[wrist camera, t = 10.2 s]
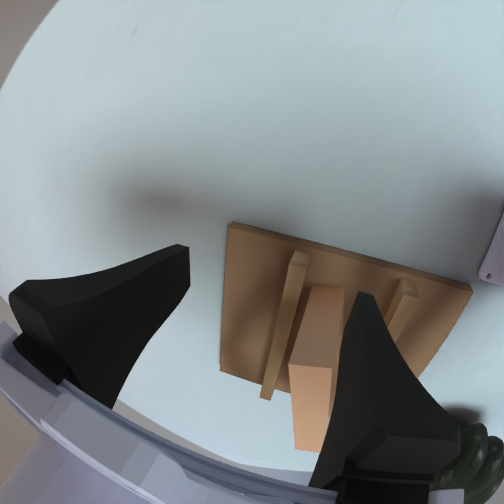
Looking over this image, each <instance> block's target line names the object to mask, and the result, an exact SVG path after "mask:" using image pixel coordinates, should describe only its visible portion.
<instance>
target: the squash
mask: <svg viewBox="0 0 504 504" xmlns="http://www.w3.org/2000/svg"><path fill="white" fill-rule="evenodd" d="M456 421H457V422H458V423H459V428H460V438H461V452H460V453H459V455H458V456H457V457H456V458H455V459H454V460H453V461H452V462H451V463H449V464H448V465H446V466H445V467H443V468H442V469H440V470H439V471H437V472H435V481H434V483H433V484H430V487H429V492H432V491H436V490H451V489H463V490H464V502H463V504H484V503H485V502H486V501H487V500H488V499H490V498H491V496H492V495H493V494H494V493H495V491H496V490H497V489H498V487H499V486H500V484H501V483H502V481H503V479H504V443H503V441H502V440H501V439H499V438H498V437H496V436H489V437H488V433H487V429H486V427H485V426H484V425H483V424H482V423H477V424H474V425H471V426H469V425H468V423H467V422H465V421H463V420H456Z"/></svg>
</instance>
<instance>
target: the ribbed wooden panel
mask: <svg viewBox="0 0 504 504" xmlns="http://www.w3.org/2000/svg"><path fill="white" fill-rule="evenodd" d="M312 286H328V287H345V294H344V317H343V332H344V328H345V325H346V323H347V320H348V317H349V315H350V312H351V310H352V307H353V304H354V302H355V299H356V296H357V293H358V291H361V292H365V293H369V294H373V296H374V298H375V300H376V302H377V305H378V307H379V310H380V312H381V314H382V317H383V319H384V321H385V324H386V326H387V328H388V330H389V332H390V334H391V336H392V338H393V340H394V342H395V344H396V346H397V348H398V350H399V352H400V353H401V355H402V357H403V358H404V360H405V361H406V363H407V365H408V366H409V368H410V369H411V371H412V372H413V373H414V375H415V376H416V378H418V377H419V376H420V375H421V373H422V372H423V371H424V369H425V368H426V367H427V365H428V364H429V362H430V361H431V360H432V358H433V357H434V355H435V354H436V353H437V351H438V350H439V348H440V347H441V345H442V344H443V342H444V341H445V339H446V338H447V336H448V335H449V333H450V331H451V330H452V328H453V327H454V325H455V323H456V322H457V320H458V319H459V317H460V315H461V313H462V312H463V310H464V308H465V307H466V305H467V303H468V301H469V299H470V298H471V296H472V294H473V291H472V288H471V286H470V285H467V284H464V283H461V282H457V281H454V280H450V279H447V278H444V277H440V276H437V275H433V274H430V273H426V272H423V271H419V270H416V269H412V268H409V267H405V266H402V265H398V264H394V263H391V262H387V261H383V260H380V259H376V258H372V257H369V256H365V255H361V254H358V253H354V252H350V251H346V250H343V249H339V248H335V247H331V246H327V245H324V244H320V243H316V242H312V241H308V240H304V239H300V238H296V237H292V236H288V235H284V234H280V233H276V232H272V231H268V230H264V229H260V228H256V227H252V226H248V225H244V224H240V223H235V222H232V223H231V224H230V225H229V226H228V232H227V247H226V262H225V278H224V296H223V314H222V334H221V356H220V371H222V372H225V373H228V374H231V375H233V376H236V377H239V378H242V379H245V380H248V381H251V382H254V383H257V384H260V385H262V389H261V393H260V398H263V399H266V400H271V397H272V394H273V392H274V389H277V390H280V391H284V392H287V393H291V389H290V378H289V367H288V363H289V360H290V357H291V354H292V351H293V348H294V345H295V342H296V339H297V335H298V332H299V329H300V326H301V323H302V319H303V316H304V313H305V310H306V306H307V303H308V299H309V296H310V293H311V289H312ZM342 337H343V334H342Z"/></svg>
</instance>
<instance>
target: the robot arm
mask: <svg viewBox="0 0 504 504" xmlns="http://www.w3.org/2000/svg"><path fill="white" fill-rule="evenodd" d="M488 274H490V275H489V276H488V277H486V276H487V275H488ZM478 276H479V278H480V279H481V280H483V281H486V282H490V283H493V284H496V285H499V286H502V287H504V212H503V215H502V217H501V220H500V223H499V225H498V228H497V230H496V233H495V235H494V238H493V240H492V243H491V245H490V247H489V250H488V252H487V254H486V257H485V259H484V261H483V263H482V265H481V267H480V269H479V272H478ZM189 287H190V257H189V247H187V246H183V245H179V244H175V245H172V246H169V247H166V248H164V249H161V250H158V251H156V252H153V253H151V254H148V255H146V256H143V257H141V258H138V259H136V260H133V261H130V262H127V263H124V264H122V265H119V266H116V267H113V268H110V269H106V270H102V271H99V272H95V273H90V274H85V275H80V276H75V277H68V278H60V279H46V280H26V281H25V282H23V283H22V284H21V285H19V286H18V287H17V288H16V289H14V290H13V291H12V292H11V293H10V294H9V303H10V307H11V309H12V311H13V313H14V315H15V318H16V320H17V322H18V324H19V326H20V328H21V330H22V332H23V333H22V334H20V335H19V336H18V334H17V333H16V332H15V331H14V330H13V329H12V328H11V327H10V326H9V325H8V324H7V323H6V322H5V321H2V322H1V323H0V393H1V394H2V395H3V396H4V398H5V399H6V400H7V401H8V402H9V403H10V404H11V405H12V406H13V407H14V408H15V410H16V411H17V412H18V413H19V414H20V415H21V416H22V417H23V418H24V419H25V420H26V421H27V422H28V423H29V424H30V425H31V426H32V427H33V428H35V429H36V430H37V431H38V432H39V433H40V434H41V436H40V437H39V438H38V440H37V441H36V442H35V443H34V445H33V446H32V447H31V449H30V450H29V451H28V452H27V453H26V455H25V456H24V457H23V459H22V460H21V461H20V463H19V464H18V465H17V466H16V468H15V469H14V470H13V472H12V473H11V474H10V475H9V477H8V478H7V480H6V481H5V482H4V484H3V485H2V486H1V488H0V504H463V502H464V490H463V489H451V490H436V491H432V492H429V487H430V484H433V483H434V481H435V472H437V471H439V470H440V469H442V468H443V467H445V466H446V465H448V464H449V463H451V462H452V461H453V460H454V459H455V458H456V457H457V456H458V455H459V453H460V452H461V438H460V428H459V423H458V422H457V421H456V420H455V419H454V418H453V417H452V416H450V415H449V414H448V413H447V412H446V411H445V410H444V409H443V408H442V407H441V406H440V405H439V404H438V403H437V402H436V401H435V400H434V398H433V397H432V396H431V395H430V394H429V393H428V392H427V390H426V389H425V388H424V387H423V385H422V384H421V383H420V381H419V380H418V379H417V378H416V376H415V375H414V373H413V372H412V371H411V369H410V368H409V366H408V365H407V363H406V361H405V360H404V358H403V357H402V355H401V353H400V352H399V350H398V348H397V346H396V344H395V342H394V340H393V338H392V336H391V334H390V332H389V330H388V328H387V326H386V324H385V321H384V319H383V317H382V314H381V312H380V310H379V307H378V305H377V302H376V300H375V298H374V296H373V294H369V293H365V292H361V291H358V293H357V296H356V299H355V302H354V304H353V307H352V310H351V312H350V315H349V317H348V320H347V323H346V325H345V328H344V332H343V337H342V342H341V347H340V354H339V364H338V374H337V384H336V392H335V399H334V405H333V409H332V413H331V417H330V421H329V425H328V428H327V432H326V435H325V439H324V442H323V445H322V448H321V451H320V454H319V457H318V460H317V463H316V466H315V469H314V472H313V475H312V477H311V480H310V482H309V485H308V486H303V485H298V484H293V483H289V482H285V481H281V480H277V479H273V478H269V477H266V476H262V475H259V474H256V473H252V472H249V471H246V470H243V469H240V468H237V467H234V466H231V465H228V464H225V463H222V462H220V461H217V460H214V459H211V458H209V457H206V456H204V455H201V454H199V453H196V452H194V451H192V450H189V449H187V448H185V447H182V446H180V445H178V444H175V443H173V442H171V441H169V440H167V439H165V438H163V437H161V436H159V435H157V434H155V433H153V432H151V431H149V430H147V429H145V428H143V427H141V426H139V425H137V424H135V423H134V422H132V421H130V420H128V419H126V418H124V417H123V416H121V415H119V414H118V413H116V412H114V411H113V410H112V408H113V406H114V404H115V402H116V399H117V397H118V395H119V393H120V391H121V389H122V387H123V385H124V383H125V381H126V379H127V377H128V375H129V373H130V371H131V369H132V368H133V366H134V364H135V362H136V361H137V359H138V357H139V356H140V354H141V352H142V351H143V349H144V348H145V346H146V345H147V343H148V342H149V340H150V339H151V338H152V336H153V335H154V334H155V333H156V331H157V330H158V329H159V328H160V327H161V325H162V324H163V323H164V322H165V320H166V319H167V318H168V317H169V316H170V314H171V313H172V312H173V311H174V310H175V308H176V307H177V306H178V305H179V303H180V302H181V300H182V299H183V297H184V295H185V294H186V292H187V290H188V289H189ZM232 490H233V491H232ZM235 491H236V492H235ZM237 492H239V493H237ZM240 493H242V494H245V495H242V494H240Z"/></svg>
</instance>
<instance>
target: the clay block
mask: <svg viewBox="0 0 504 504" xmlns="http://www.w3.org/2000/svg"><path fill="white" fill-rule="evenodd" d="M344 294H345V287H328V286H312V289H311V293H310V296H309V299H308V303H307V306H306V310H305V313H304V316H303V319H302V323H301V326H300V329H299V332H298V335H297V339H296V342H295V345H294V348H293V351H292V354H291V357H290V360H289V363H288V367H289V378H290V389H291V401H292V413H293V426H294V439H295V449H297V450H304V451H311V452H319V453H320V451H321V448H322V445H323V442H324V439H325V435H326V432H327V428H328V425H329V421H330V417H331V413H332V409H333V405H334V399H335V392H336V384H337V374H338V364H339V354H340V347H341V342H342V334H343V317H344Z"/></svg>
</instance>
